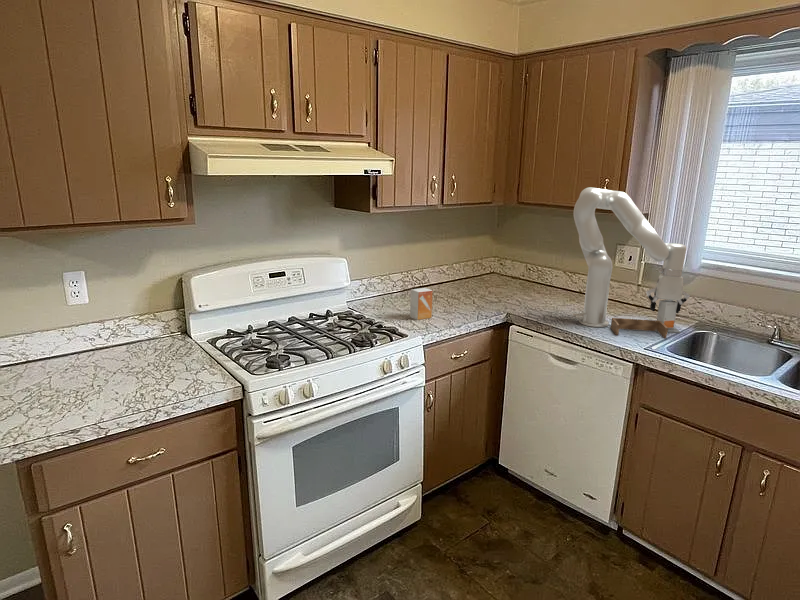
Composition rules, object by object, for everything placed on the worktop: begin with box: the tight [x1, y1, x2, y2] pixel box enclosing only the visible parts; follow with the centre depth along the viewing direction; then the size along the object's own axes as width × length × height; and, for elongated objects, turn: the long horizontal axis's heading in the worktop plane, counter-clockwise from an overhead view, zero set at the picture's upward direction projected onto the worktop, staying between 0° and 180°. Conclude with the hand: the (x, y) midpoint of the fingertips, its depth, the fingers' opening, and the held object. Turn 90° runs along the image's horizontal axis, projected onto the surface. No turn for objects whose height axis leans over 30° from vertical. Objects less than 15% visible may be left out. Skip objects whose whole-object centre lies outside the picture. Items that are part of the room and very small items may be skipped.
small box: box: [409, 287, 434, 321], centre depth 237 cm, size 8×6×13 cm
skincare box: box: [656, 299, 678, 329], centre depth 225 cm, size 6×4×12 cm
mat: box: [654, 326, 681, 334], centre depth 227 cm, size 10×10×1 cm
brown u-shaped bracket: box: [610, 317, 668, 339], centre depth 220 cm, size 20×11×4 cm, turn 80°
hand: (664, 311), depth 225 cm, fingers open, 9 cm apart
